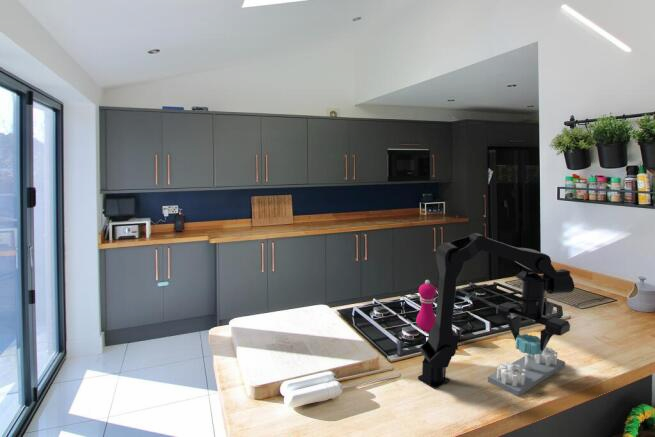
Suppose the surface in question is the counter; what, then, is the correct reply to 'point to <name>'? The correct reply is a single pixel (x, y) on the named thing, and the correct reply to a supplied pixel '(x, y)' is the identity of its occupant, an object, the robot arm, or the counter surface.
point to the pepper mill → (426, 307)
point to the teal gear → (528, 344)
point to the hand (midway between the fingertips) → (529, 345)
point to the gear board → (526, 371)
